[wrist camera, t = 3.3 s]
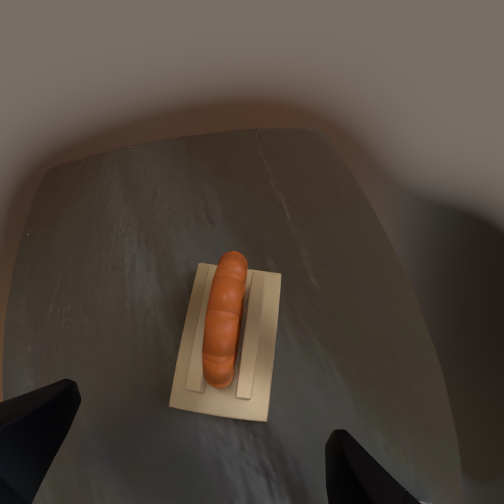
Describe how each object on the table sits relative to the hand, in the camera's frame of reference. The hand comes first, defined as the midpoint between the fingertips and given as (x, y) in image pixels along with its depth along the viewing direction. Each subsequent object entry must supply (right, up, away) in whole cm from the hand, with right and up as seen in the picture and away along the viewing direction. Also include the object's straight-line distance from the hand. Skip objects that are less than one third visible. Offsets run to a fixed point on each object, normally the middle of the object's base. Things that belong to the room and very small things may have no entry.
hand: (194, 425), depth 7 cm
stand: (0, -1, +13) cm, 13 cm away
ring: (0, -1, +12) cm, 12 cm away
